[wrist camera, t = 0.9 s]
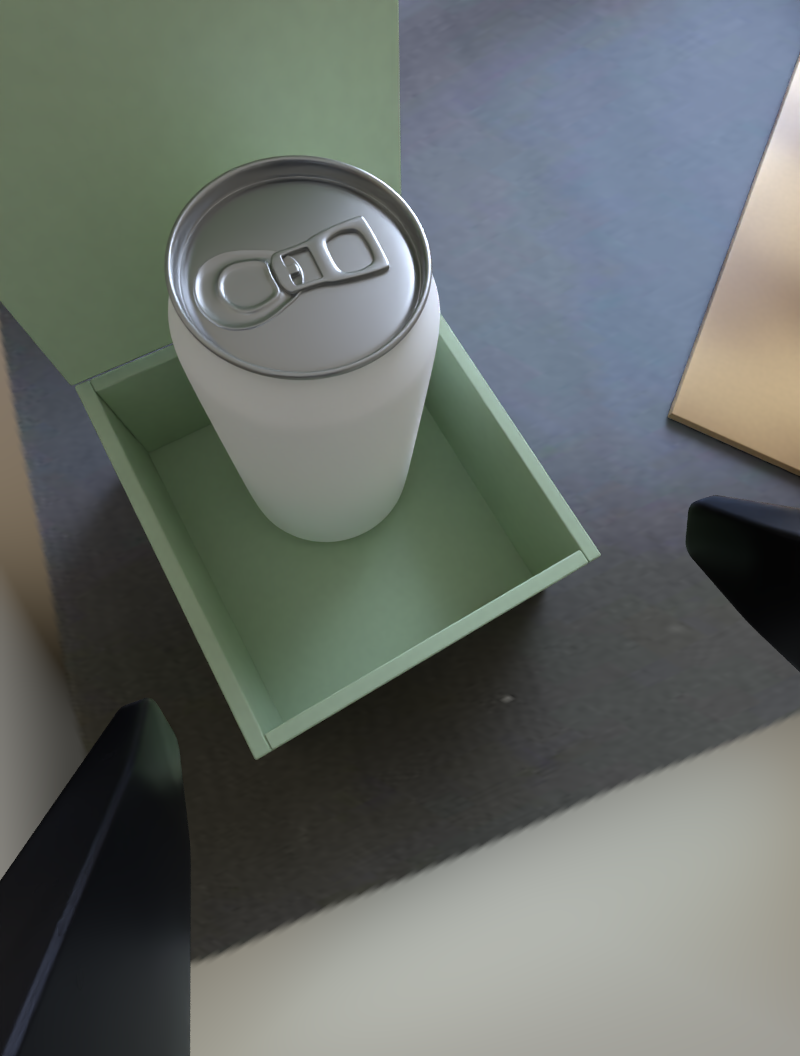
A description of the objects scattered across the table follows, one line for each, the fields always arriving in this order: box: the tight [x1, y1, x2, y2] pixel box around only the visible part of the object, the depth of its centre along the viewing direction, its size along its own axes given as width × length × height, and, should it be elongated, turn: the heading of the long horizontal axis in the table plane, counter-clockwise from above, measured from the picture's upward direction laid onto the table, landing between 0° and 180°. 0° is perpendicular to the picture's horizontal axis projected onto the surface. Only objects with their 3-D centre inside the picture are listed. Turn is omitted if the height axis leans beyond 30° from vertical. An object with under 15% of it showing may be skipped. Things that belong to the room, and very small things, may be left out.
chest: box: [75, 314, 601, 760], centre depth 21 cm, size 13×12×6 cm
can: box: [164, 155, 440, 542], centre depth 18 cm, size 6×6×12 cm
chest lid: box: [0, 0, 401, 385], centre depth 14 cm, size 14×12×4 cm
